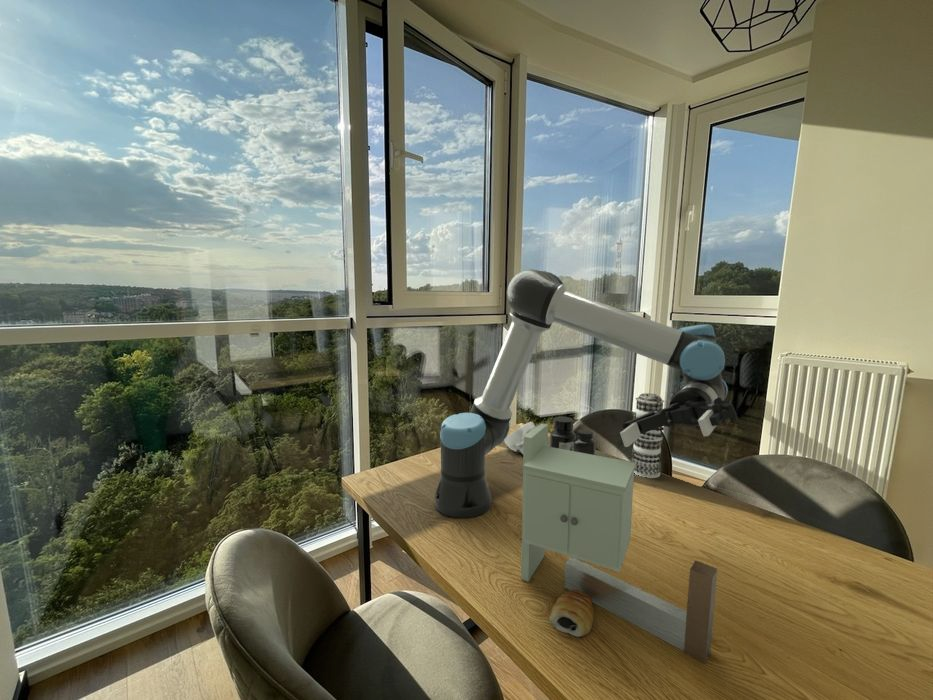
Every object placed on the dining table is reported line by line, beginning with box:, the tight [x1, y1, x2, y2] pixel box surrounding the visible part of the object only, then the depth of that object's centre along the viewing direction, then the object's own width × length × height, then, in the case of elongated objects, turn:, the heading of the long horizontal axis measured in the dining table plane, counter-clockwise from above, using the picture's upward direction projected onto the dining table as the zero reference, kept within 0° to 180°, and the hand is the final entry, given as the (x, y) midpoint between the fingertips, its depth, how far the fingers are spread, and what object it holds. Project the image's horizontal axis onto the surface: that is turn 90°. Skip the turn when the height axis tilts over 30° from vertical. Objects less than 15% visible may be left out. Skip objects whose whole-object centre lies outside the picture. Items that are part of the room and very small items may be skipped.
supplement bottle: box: [573, 429, 597, 455], centre depth 133 cm, size 7×7×12 cm
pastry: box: [548, 590, 595, 638], centre depth 71 cm, size 9×7×4 cm
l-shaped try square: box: [564, 557, 718, 665], centre depth 70 cm, size 24×3×14 cm, turn 47°
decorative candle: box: [631, 392, 665, 479], centre depth 128 cm, size 9×9×25 cm
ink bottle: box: [549, 416, 577, 451], centre depth 146 cm, size 10×9×12 cm
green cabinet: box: [520, 422, 636, 583], centre depth 76 cm, size 19×14×29 cm
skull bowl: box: [503, 421, 537, 455], centre depth 147 cm, size 10×14×12 cm
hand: (661, 434), depth 71 cm, fingers open, 13 cm apart
